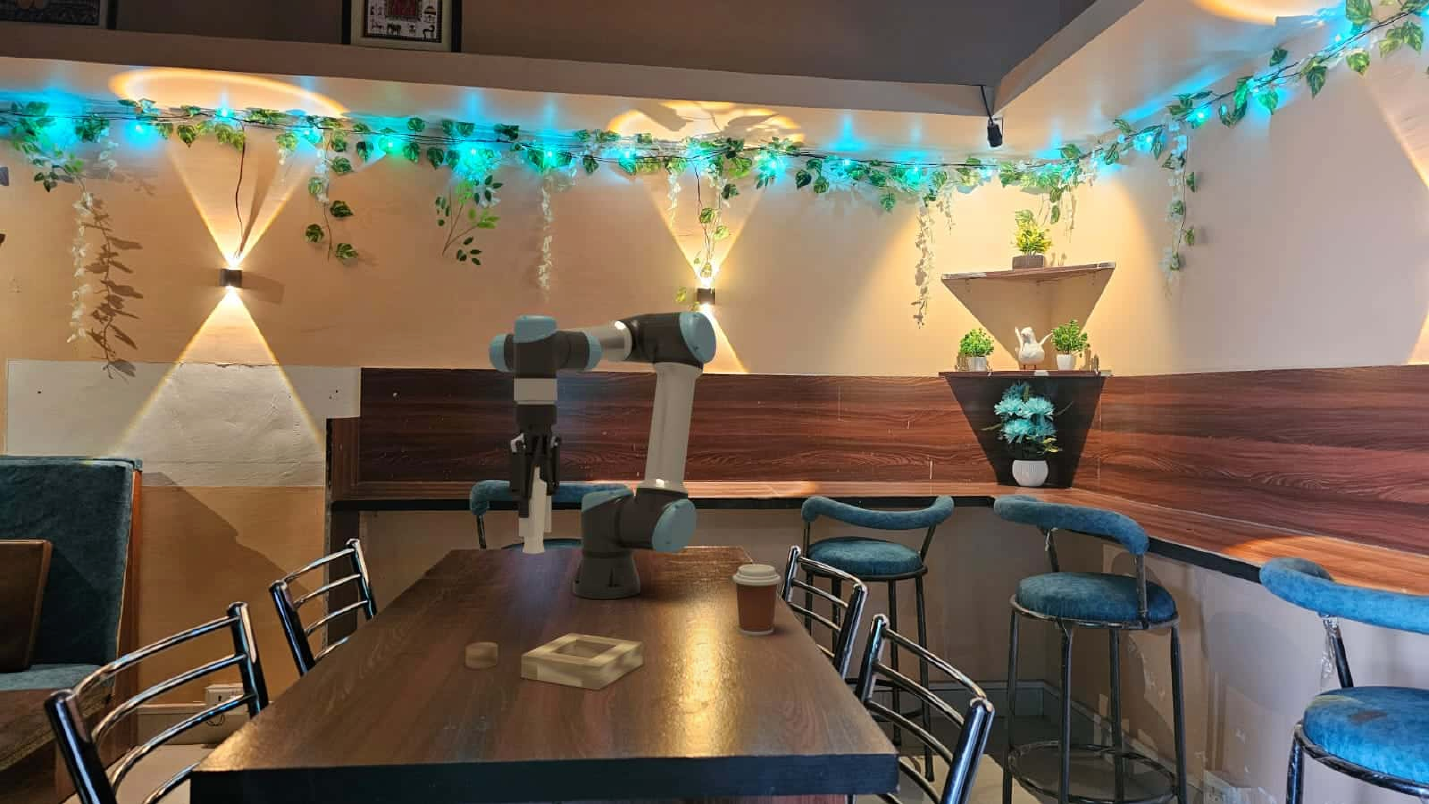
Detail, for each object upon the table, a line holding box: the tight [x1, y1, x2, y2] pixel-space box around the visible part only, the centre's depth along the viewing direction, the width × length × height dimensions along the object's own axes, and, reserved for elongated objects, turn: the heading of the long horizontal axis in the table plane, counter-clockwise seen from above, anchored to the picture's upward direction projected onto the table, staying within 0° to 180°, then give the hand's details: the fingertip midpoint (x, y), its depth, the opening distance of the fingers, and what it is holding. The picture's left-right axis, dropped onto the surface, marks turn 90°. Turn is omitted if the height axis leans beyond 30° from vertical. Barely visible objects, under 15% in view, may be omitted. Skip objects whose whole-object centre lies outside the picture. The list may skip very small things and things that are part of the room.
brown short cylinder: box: [465, 641, 499, 670], centre depth 139 cm, size 5×5×3 cm
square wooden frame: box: [520, 632, 644, 691], centre depth 136 cm, size 14×14×4 cm
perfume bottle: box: [522, 466, 547, 554], centre depth 150 cm, size 5×4×15 cm
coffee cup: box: [732, 563, 782, 636], centre depth 160 cm, size 9×9×12 cm
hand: (535, 533), depth 151 cm, fingers closed on perfume bottle, 4 cm apart
